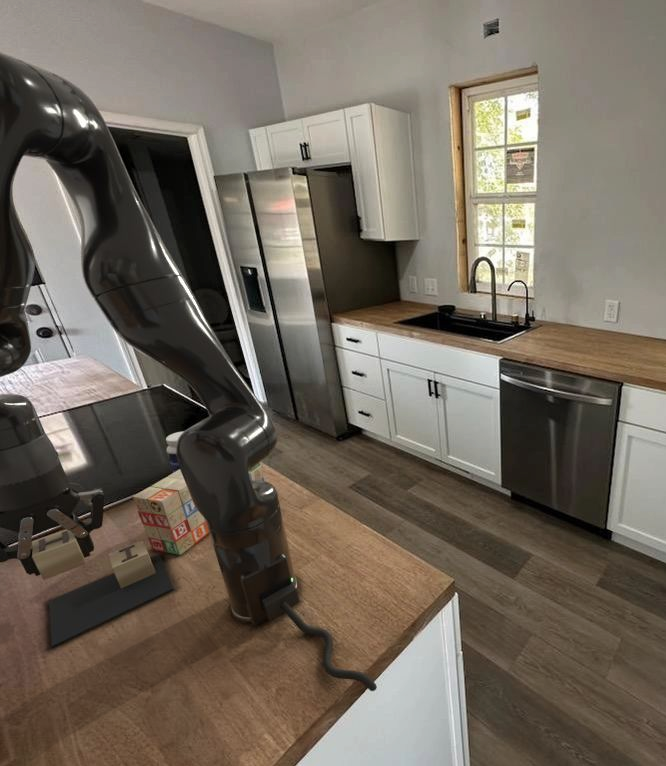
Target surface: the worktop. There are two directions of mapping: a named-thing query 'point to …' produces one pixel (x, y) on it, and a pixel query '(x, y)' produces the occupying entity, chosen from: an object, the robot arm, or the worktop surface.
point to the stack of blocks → (174, 513)
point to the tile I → (131, 564)
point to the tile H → (57, 554)
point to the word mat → (103, 602)
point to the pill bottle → (173, 450)
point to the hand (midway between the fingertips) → (64, 562)
